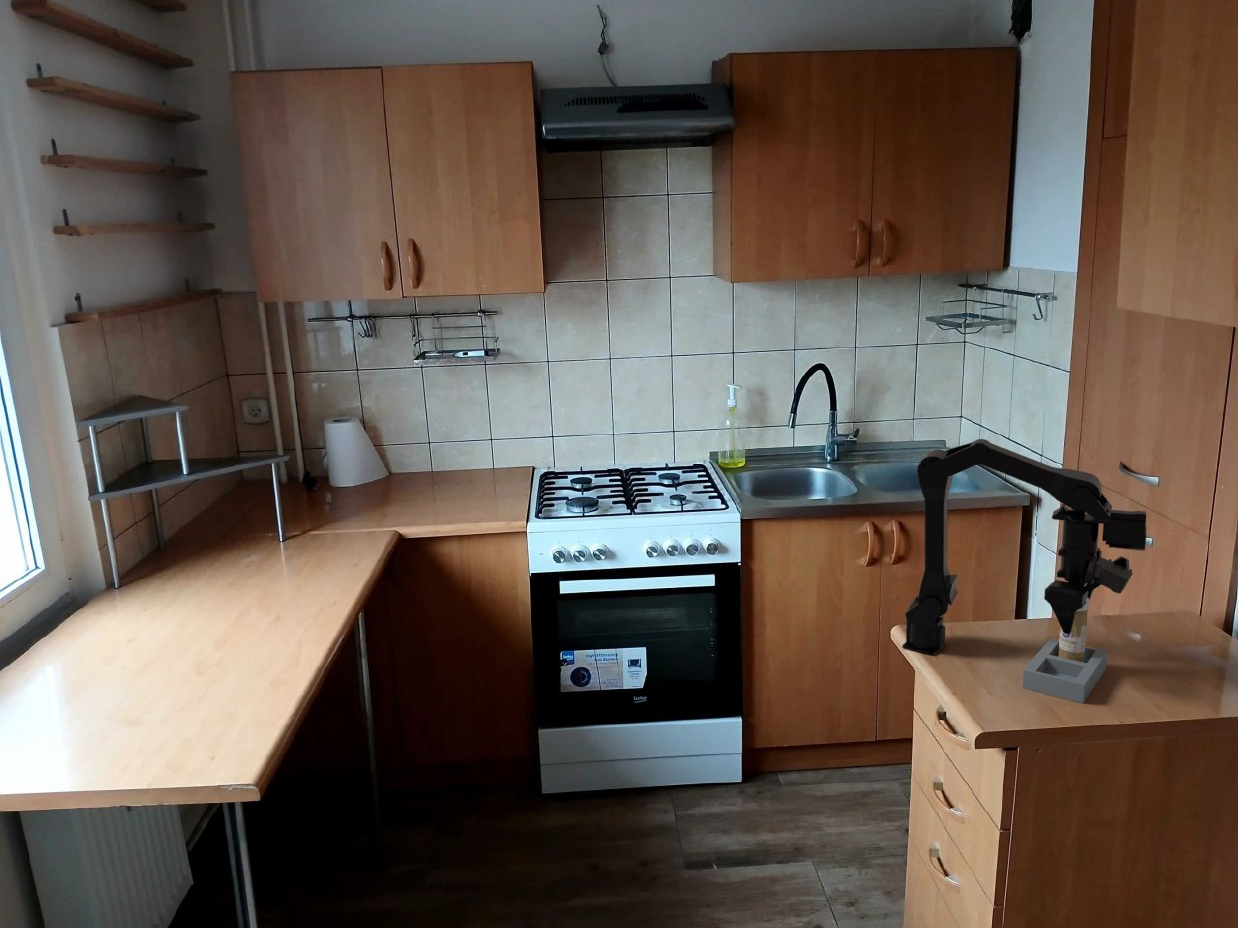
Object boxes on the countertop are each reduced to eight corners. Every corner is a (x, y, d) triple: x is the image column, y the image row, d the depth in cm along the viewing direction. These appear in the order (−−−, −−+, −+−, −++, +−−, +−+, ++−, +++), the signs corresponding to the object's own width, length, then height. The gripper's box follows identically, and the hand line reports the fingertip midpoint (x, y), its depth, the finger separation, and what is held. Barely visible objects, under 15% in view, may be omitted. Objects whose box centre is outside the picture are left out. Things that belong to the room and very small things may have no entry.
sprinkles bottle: (1053, 665, 171) (1057, 597, 168) (1064, 656, 174) (1068, 590, 171) (1078, 672, 167) (1083, 603, 164) (1089, 664, 170) (1093, 596, 167)
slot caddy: (1022, 687, 165) (1023, 670, 164) (1049, 655, 177) (1050, 638, 176) (1083, 703, 159) (1084, 684, 158) (1106, 668, 171) (1107, 650, 170)
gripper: (1116, 567, 153) (1110, 654, 157) (1141, 536, 167) (1135, 617, 170) (1045, 555, 160) (1041, 638, 164) (1075, 527, 174) (1070, 604, 178)
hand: (1074, 624), depth 169 cm, fingers open, 9 cm apart
